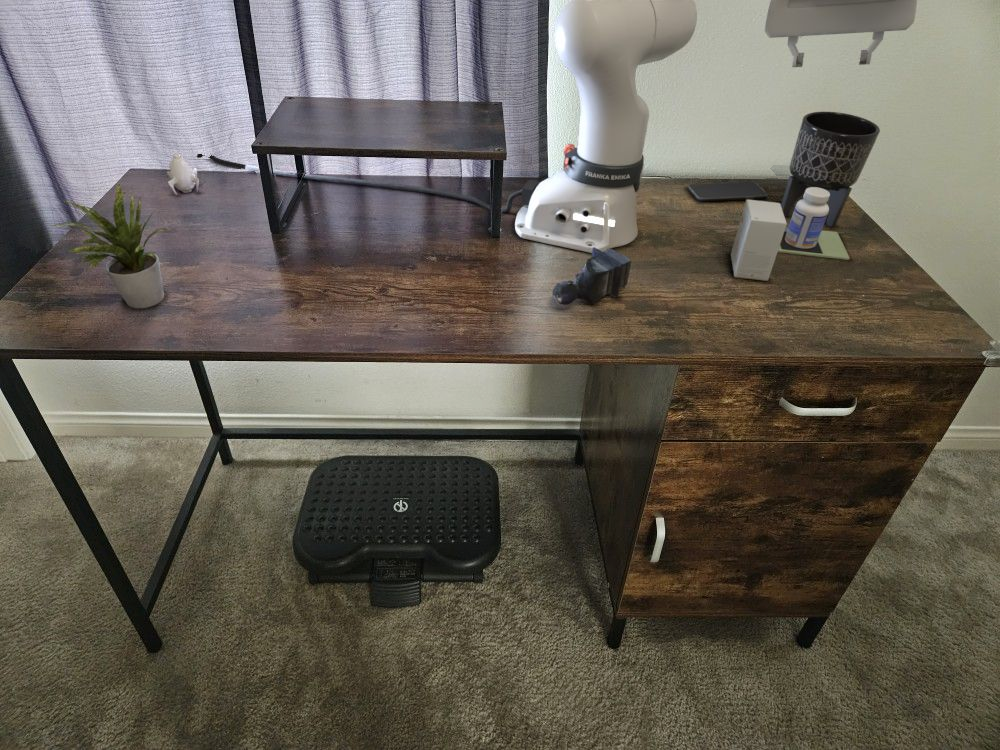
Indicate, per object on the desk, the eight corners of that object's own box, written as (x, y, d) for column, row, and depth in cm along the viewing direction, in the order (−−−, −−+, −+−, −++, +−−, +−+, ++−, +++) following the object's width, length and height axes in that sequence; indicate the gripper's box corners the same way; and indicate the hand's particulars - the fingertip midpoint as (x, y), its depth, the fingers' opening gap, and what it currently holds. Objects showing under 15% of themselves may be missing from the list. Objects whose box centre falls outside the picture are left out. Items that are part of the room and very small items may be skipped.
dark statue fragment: (541, 302, 100) (545, 266, 96) (600, 276, 107) (606, 240, 103) (571, 322, 96) (575, 285, 92) (630, 293, 103) (637, 257, 99)
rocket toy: (171, 187, 127) (159, 147, 122) (201, 183, 129) (189, 144, 124) (172, 198, 123) (159, 157, 118) (203, 194, 125) (191, 154, 120)
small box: (767, 282, 107) (788, 224, 100) (733, 278, 108) (750, 219, 101) (762, 258, 113) (781, 202, 106) (729, 254, 114) (746, 198, 107)
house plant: (93, 279, 101) (50, 179, 91) (188, 264, 105) (157, 167, 95) (86, 330, 91) (37, 224, 81) (192, 311, 95) (157, 208, 85)
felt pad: (766, 251, 115) (767, 248, 115) (759, 225, 123) (760, 222, 122) (849, 260, 113) (850, 257, 113) (836, 233, 121) (837, 231, 121)
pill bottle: (816, 239, 118) (836, 189, 112) (814, 252, 114) (834, 201, 108) (785, 233, 119) (803, 182, 113) (782, 245, 116) (800, 194, 109)
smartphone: (686, 183, 134) (754, 180, 136) (685, 188, 135) (753, 184, 137) (699, 199, 129) (770, 195, 130) (698, 203, 129) (769, 199, 131)
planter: (856, 220, 126) (895, 128, 114) (816, 236, 120) (853, 141, 109) (799, 195, 134) (830, 107, 122) (759, 209, 128) (788, 118, 116)
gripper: (929, -50, 91) (906, 56, 99) (773, -35, 99) (763, 62, 107) (932, -44, 87) (907, 67, 95) (769, -29, 95) (759, 72, 103)
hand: (830, 65), depth 101 cm, fingers open, 8 cm apart
